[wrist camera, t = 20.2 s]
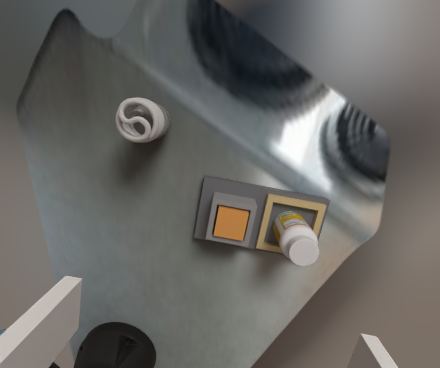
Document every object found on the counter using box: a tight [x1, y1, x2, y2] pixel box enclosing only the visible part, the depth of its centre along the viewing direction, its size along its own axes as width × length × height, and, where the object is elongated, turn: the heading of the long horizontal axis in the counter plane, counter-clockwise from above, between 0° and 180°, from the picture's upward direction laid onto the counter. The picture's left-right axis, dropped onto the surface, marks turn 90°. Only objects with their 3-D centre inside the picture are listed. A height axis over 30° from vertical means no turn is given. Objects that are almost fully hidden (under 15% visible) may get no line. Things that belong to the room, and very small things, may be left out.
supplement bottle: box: [273, 211, 319, 266], centre depth 39 cm, size 5×5×10 cm
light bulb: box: [116, 98, 171, 143], centre depth 36 cm, size 6×6×12 cm
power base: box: [194, 175, 330, 255], centre depth 42 cm, size 21×11×6 cm, turn 80°
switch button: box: [214, 205, 249, 241], centre depth 41 cm, size 5×5×4 cm
